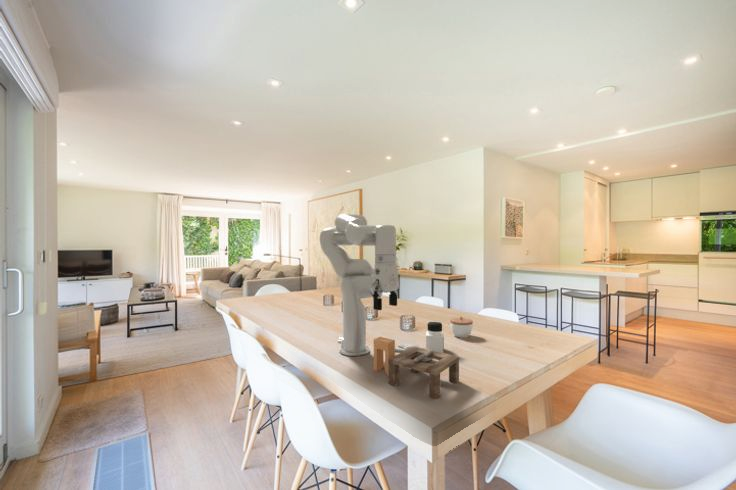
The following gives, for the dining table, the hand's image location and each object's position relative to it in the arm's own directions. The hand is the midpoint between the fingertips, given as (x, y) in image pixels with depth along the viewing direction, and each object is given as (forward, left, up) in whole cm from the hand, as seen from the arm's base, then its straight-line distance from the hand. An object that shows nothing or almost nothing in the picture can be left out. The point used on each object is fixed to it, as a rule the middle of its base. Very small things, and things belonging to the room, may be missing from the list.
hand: (385, 307), depth 116 cm
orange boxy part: (0, -1, -22) cm, 22 cm away
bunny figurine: (+1, +17, -23) cm, 28 cm away
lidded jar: (+4, +58, -23) cm, 63 cm away
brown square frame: (+16, -1, -22) cm, 27 cm away
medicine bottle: (+4, +30, -23) cm, 38 cm away
